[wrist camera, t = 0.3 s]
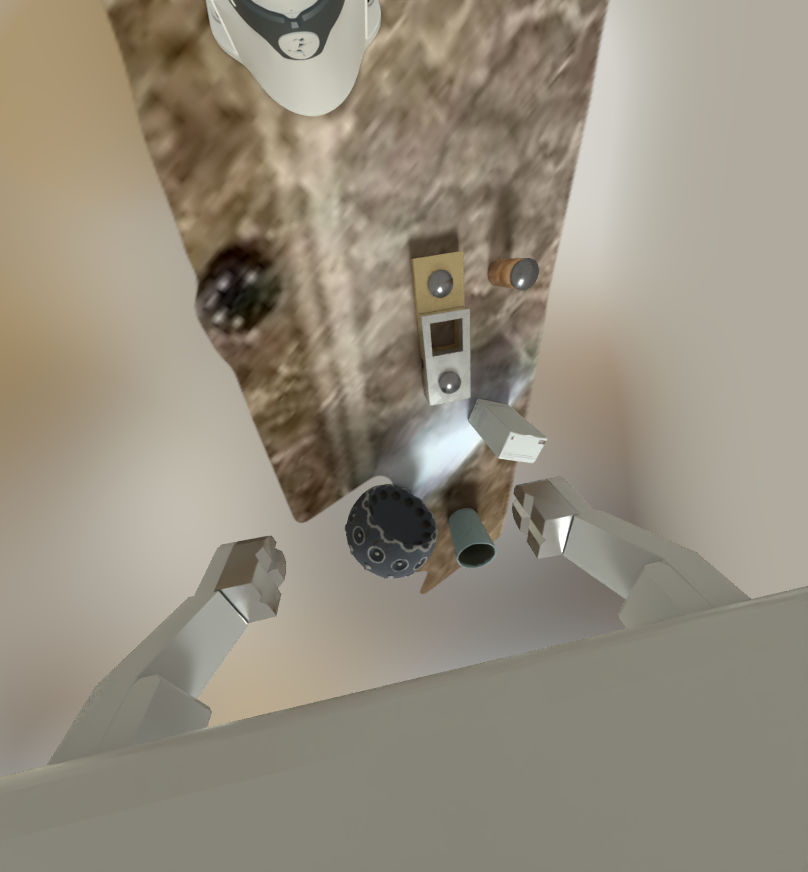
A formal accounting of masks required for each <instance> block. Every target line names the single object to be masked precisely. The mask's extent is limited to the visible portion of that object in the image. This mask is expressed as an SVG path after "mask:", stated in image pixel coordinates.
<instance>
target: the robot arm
mask: <svg viewBox="0 0 808 872" xmlns="http://www.w3.org/2000/svg"><path fill="white" fill-rule="evenodd" d="M206 5H207V10H208V16H209V21H210V26H211V30H212V33H213V35H214V37H215V39H216V41H217V43H218V45H219V46H220V47H221V48H222V49H223V50H224V51H225V52H226V53H228V54H229V55H230V56H232V57H233V58H235V59H236V60H237V61H239V62H240V63H242V64H243V65H244V66H245V67H246V68H247V69H248V70H249V71H250V72H251V74H252V75H253V76H254V78H255V79H256V80H257V82H258V83H259V84H260V86H261V87H262V88H263V89H264V90H265V91H266V92H267V94H268V95H269V96H270V97H272V98H273V99H274V100H275V101H276V102H277V103H279V104H280V105H281V106H283V107H284V108H286V109H288V110H290V111H292V112H294V113H297V114H300V115H305V116H319V115H323V114H326V113H328V112H330V111H332V110H334V109H335V108H337V107H338V106H339V105H340V104H341V103H342V102H343V101H344V100H345V99H346V97H347V96H348V94H349V93H350V91H351V89H352V87H353V85H354V83H355V81H356V78H357V75H358V72H359V68H360V65H361V61H362V57H363V54H364V52H365V50H366V48H367V47H368V46H369V44H370V43H371V42H372V40H373V39H374V38H375V36H376V34H377V33H378V31H379V28H380V25H381V10H380V4H379V0H370V1H369V2H368V3H367V0H206ZM218 17H219V18H218ZM514 495H515V497H516V498H517V499H516V500H515V501H514V502H513V506H512V512H513V517H514V520H515V522H516V524H517V526H518V528H519V530H520V531H522V532H524V533H525V534H527V535H528V537H527V543H528V544H529V546H530V548H531V549H532V551H533V552H534V554H535V555H536V557H537V559H540V558H545V557H551V556H556V555H561V554H564V556H565V557H566V558H568V559H569V560H570V561H572V562H573V563H575V564H576V565H578V566H579V567H580V568H582V569H583V570H585V571H586V572H588V573H589V574H590V575H592V576H593V577H595V578H596V579H598V580H599V581H600V582H602V583H603V584H605V585H606V586H608V587H609V588H610V589H612V590H613V591H615V592H616V593H618V594H619V595H620V596H622V597H623V598H625V599H626V600H625V602H624V604H623V606H622V608H621V609H620V611H619V616H618V617H619V618H620V620H621V621H622V623H623V624H624V625H625V627H626V628H627V629H623V630H619V631H615V632H611V633H606V634H602V635H598V636H594V637H589V638H585V639H581V640H577V641H573V642H568V643H564V644H560V645H556V646H551V647H547V648H543V649H539V650H534V651H530V652H526V653H522V654H517V655H513V656H509V657H505V658H501V659H496V660H492V661H488V662H483V663H480V664H475V665H471V666H467V667H463V668H458V669H454V670H450V671H446V672H441V673H437V674H433V675H429V676H424V677H420V678H416V679H412V680H407V681H403V682H399V683H394V684H390V685H386V686H382V687H378V688H373V689H369V690H365V691H361V692H356V693H352V694H348V695H344V696H340V697H335V698H331V699H327V700H323V701H318V702H314V703H310V704H306V705H301V706H297V707H293V708H289V709H284V710H280V711H276V712H272V713H268V714H263V715H259V716H255V717H251V718H246V719H242V720H238V721H234V722H229V723H225V724H221V725H217V726H213V727H208V728H207V726H208V723H209V720H210V716H211V713H212V711H211V709H210V707H208V706H207V705H205V704H204V703H202V702H201V701H199V700H198V699H197V698H198V696H199V695H200V694H201V692H202V691H203V689H204V688H205V686H206V685H207V684H208V682H209V681H210V679H211V678H212V676H213V675H214V673H215V672H216V670H217V669H218V668H219V666H220V665H221V663H222V662H223V661H224V659H225V658H226V656H227V655H228V653H229V652H230V650H231V649H232V648H233V646H234V645H235V643H236V642H237V640H238V639H239V638H240V636H241V635H242V633H243V632H244V630H245V629H246V627H247V626H248V623H251V622H255V621H259V620H263V619H267V618H271V617H275V616H276V615H277V611H278V606H279V602H280V597H281V593H280V592H279V590H278V587H279V586H280V585H281V584H282V583H283V581H284V579H285V574H286V561H285V557H284V555H283V553H282V551H280V550H278V549H276V548H275V546H276V541H275V540H274V538H273V537H272V536H265V537H260V538H255V539H249V540H243V541H238V542H233V543H228V544H222V545H221V546H220V547H219V548H217V550H216V552H215V554H214V556H213V558H212V560H211V562H210V564H209V567H208V569H207V571H206V573H205V575H204V577H203V579H202V581H201V583H200V585H199V587H198V589H197V591H196V593H195V595H194V596H192V597H189V598H188V599H187V600H186V601H184V602H183V603H182V604H181V605H180V606H179V607H178V608H177V609H176V610H175V611H174V612H173V613H172V614H171V615H170V616H169V617H168V618H167V619H165V620H164V621H163V622H162V623H161V624H160V625H159V626H158V627H157V628H156V629H155V630H154V631H153V632H152V633H151V634H150V635H149V636H148V637H147V638H146V639H145V640H143V641H142V642H141V643H140V644H139V645H138V646H137V647H136V648H135V649H134V650H133V651H132V652H131V653H130V654H129V655H128V656H127V657H126V658H125V659H123V660H122V661H121V662H120V663H119V664H118V666H116V667H115V668H114V669H113V670H112V671H111V672H110V673H109V674H108V675H107V676H106V677H105V678H103V679H102V680H101V681H100V682H99V683H98V685H96V686H95V688H94V689H93V691H92V693H91V694H90V696H89V697H88V699H87V701H86V702H85V704H84V706H83V707H82V709H81V710H80V712H79V714H78V715H77V717H76V718H75V720H74V722H73V724H72V725H71V727H70V728H69V730H68V732H67V733H66V735H65V736H64V738H63V740H62V741H61V743H60V745H59V746H58V748H57V749H56V751H55V753H54V754H53V756H52V758H51V759H50V761H49V763H48V765H47V766H43V767H40V768H35V769H31V770H27V771H22V772H18V773H14V774H10V775H5V776H1V777H0V872H808V586H806V587H801V588H797V589H793V590H789V591H784V592H780V593H776V594H772V595H767V596H764V597H759V598H755V599H751V598H749V597H748V596H747V595H746V594H745V593H744V592H742V591H741V590H740V589H739V588H738V587H737V586H735V585H734V584H733V583H732V582H731V581H730V580H728V579H727V578H726V577H725V576H724V575H722V574H721V573H720V572H719V571H718V570H717V569H716V568H714V567H713V566H712V565H711V564H710V563H709V562H707V561H706V560H705V559H704V558H703V557H702V556H700V555H699V554H698V553H697V552H695V551H693V550H690V549H688V548H686V547H683V546H681V545H679V544H677V543H674V542H672V541H670V540H667V539H665V538H663V537H661V536H658V535H656V534H653V533H651V532H649V531H647V530H644V529H642V528H640V527H637V526H635V525H633V524H631V523H629V522H626V521H624V520H622V519H619V518H617V517H615V516H612V515H610V514H608V513H605V512H603V511H601V510H599V511H595V510H594V509H593V508H592V507H591V506H590V505H589V504H588V503H587V501H586V500H585V499H584V498H583V497H582V496H581V495H580V494H579V493H577V491H576V490H575V489H574V488H573V487H572V486H571V485H570V484H569V483H568V482H567V481H566V480H565V479H564V478H563V477H561V476H558V477H553V478H548V479H544V480H538V481H534V482H529V483H524V484H519V485H516V486H515V488H514Z"/></svg>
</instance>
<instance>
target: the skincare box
mask: <svg viewBox="0 0 808 872" xmlns="http://www.w3.org/2000/svg"><path fill="white" fill-rule="evenodd" d="M468 422H469V423H470V424H471V425H472V427H473V428H474V429H475V430H476V431H477V433H478V434H479V435H480V436H481V437H482V439H483V440H484V441H485V442H486V443H487V445H488V446H489V447H490V448H491V450H492V451H493V452H494V453H495V454H496V456H497V457H498V458H500V459H507V460H514V461H522V462H529V463H534V461H535V460H536V458H537V456H538V454H539V453H540V451H541V449H542V447H543V446H544V444H545V442H546V440H547V437H546V436H545V435H543V434H542V433H541V432H540V431H539V430H537V429H536V428H535V427H534V426H533V425H531V424H530V423H529V422H528V421H527V420H526V419H524V418H523V417H522V416H521V415H520V414H518V413H517V412H516V411H515V410H514V409H512V408H511V407H510V406H509V405H507V404H502V403H498V402H493V401H488V400H482V399H477V401H476V403H475V406H474V408H473V410H472V412H471V415H470V417H469V419H468Z"/></svg>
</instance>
